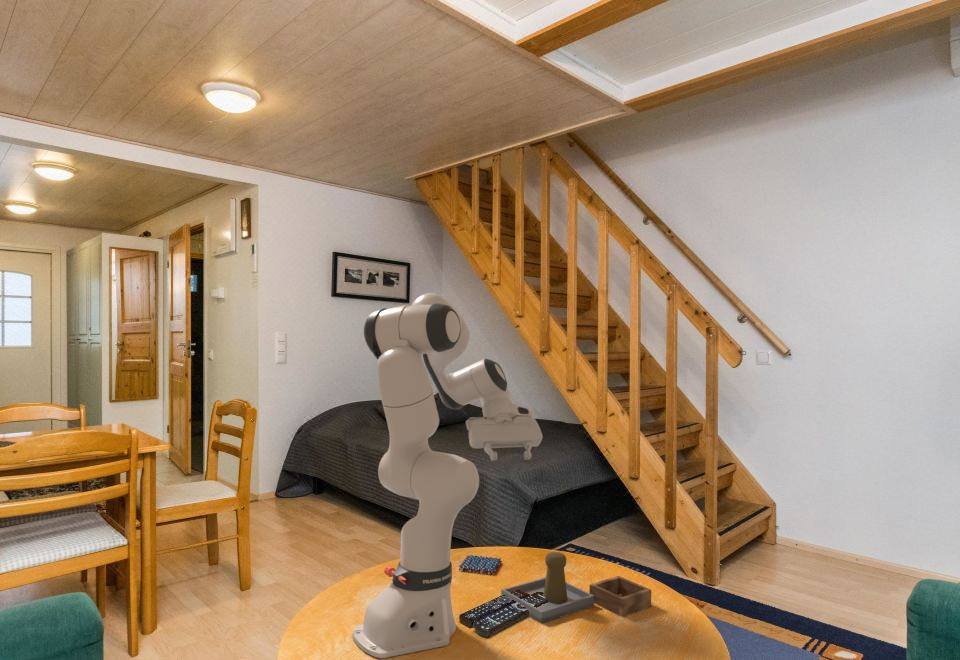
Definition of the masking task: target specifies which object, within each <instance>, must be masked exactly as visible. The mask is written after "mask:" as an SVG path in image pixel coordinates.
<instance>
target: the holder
mask: <svg viewBox="0 0 960 660" xmlns="http://www.w3.org/2000/svg"><path fill="white" fill-rule="evenodd" d="M589 593H590V594H592V595H594V605H597V606H599V607H601V608H603V609H605V610H607V611H610V612H611V613H613V614H615V615H617V616H619V617H622V618H623V617H626V616H629V615H632V614H634V613H637V612H640V611H642V609H643V610H645V609H647V607H648V608H650V606H651V607H652V589H650V588H648V587H646V586H644V585H641V584H639V583H637V582H634V581H632V580H629V579H627V578H624V577H622V576H620V575H616V576H612V577H609V578H607V579H604V580H599V581H596V582H593V583H590V584H589ZM618 593H619V594H618ZM620 594H621V595H620Z"/></svg>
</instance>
